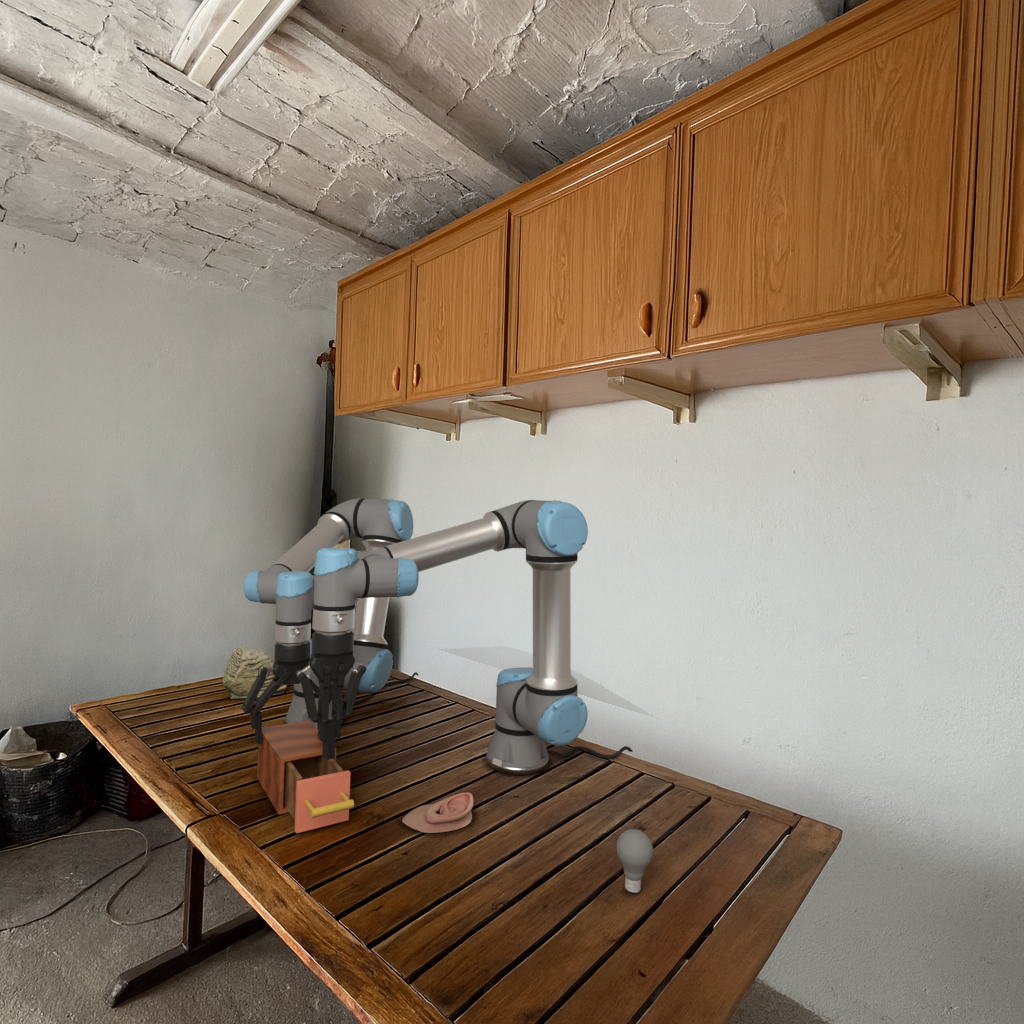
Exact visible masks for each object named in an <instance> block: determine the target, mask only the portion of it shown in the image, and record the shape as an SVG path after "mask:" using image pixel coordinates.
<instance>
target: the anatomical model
mask: <svg viewBox="0 0 1024 1024" xmlns="http://www.w3.org/2000/svg"><path fill="white" fill-rule="evenodd" d="M473 807H474V796H473V794H472V793H471V792H467V791H466V792H461V793H456V794H453V795H450V796H448V797H445V798H443V799H441V800H439V801H436V802H434V803H431V804H430V803H429V804H423V805H421V806H418V807H416V808H414V809H412V810H411V811H409V812H408V813H407V814H405V816H403V817H402V820H401V821H402V823H403V824H404V825H405V826H406V827H409V828H410V829H412V830H415V831H418V832H421V833H424V834H435V833H437V834H438V833H446V832H452V831H456V830H459V829H463V828H464V827H466V826H468V825H470V824H471V822H472V820H473V813H472V809H474V808H473Z"/></svg>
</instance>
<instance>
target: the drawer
mask: <svg viewBox="0 0 1024 1024" xmlns="http://www.w3.org/2000/svg"><path fill="white" fill-rule="evenodd" d="M351 774H352V773H351V771H350V770H349V769H347V770H343V768H342V767H341V766H340V765H339V763H338V762H337V760H336V761H335V760H334V759H329V760H326V758H325V757H324V756H323V755H319V756H314V757H308V758H303V759H298V760H293V761H287V762H285V767H284V793H283V803H284V805H285V807H286V808H287V810H288V812H289V816H290V817H291V818H292V820H293V821H294V832H295V833H296V834H299V833H300V834H301V833H303V832H308V831H313V830H315V829H320V828H323V827H327V826H332V825H335V824H340V823H343V822H346V821H349V820H350V810H351V809H354V808H355V802H354V799H352V798H351V799H350V796H351Z"/></svg>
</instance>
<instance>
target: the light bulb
mask: <svg viewBox="0 0 1024 1024" xmlns="http://www.w3.org/2000/svg"><path fill="white" fill-rule="evenodd" d="M615 849H616V854H617V857H618V859H619V861H620V863H621V865H622V867H623V873H624V874H623V875H624V876H625V878H624V888H625V890H627V891H628V892H630V893H634V894H635V893H639V892H640V891H641V889H642V887H641V886H642V879H643V877H644V875H645V871H646V868H647V867H648V866H649V864H650V863H651V861H652V859H653V855H654V847H653V843H652V841H651V838H649V836H648V835H647V834H646V833H645V832H643V831H642V830H641V829H636V828H629V829H627V830H625V831H623V832H622V833H621V834H620V835H619V837H618V839H617V841H616V847H615Z"/></svg>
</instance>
